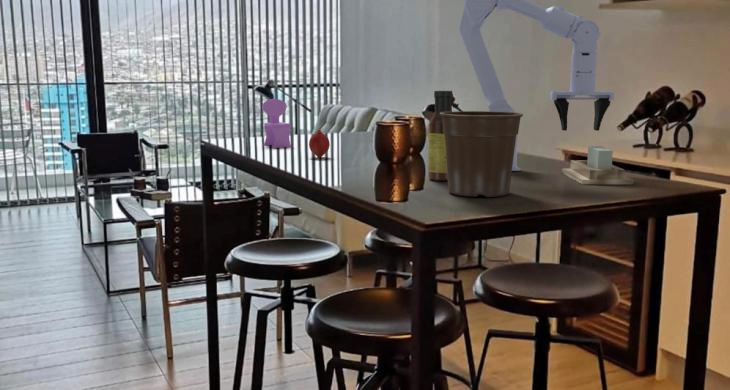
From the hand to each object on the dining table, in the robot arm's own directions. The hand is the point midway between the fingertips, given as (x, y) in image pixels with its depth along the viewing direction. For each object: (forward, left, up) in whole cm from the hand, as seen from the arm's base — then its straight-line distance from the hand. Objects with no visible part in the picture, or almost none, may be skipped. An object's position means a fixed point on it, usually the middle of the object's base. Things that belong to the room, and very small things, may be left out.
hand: (580, 130), depth 170 cm
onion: (-65, +26, -10) cm, 71 cm away
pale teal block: (+1, -13, -9) cm, 16 cm away
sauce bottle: (-34, -13, -10) cm, 38 cm away
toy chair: (-81, +55, -10) cm, 98 cm away
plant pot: (-28, -30, -10) cm, 42 cm away
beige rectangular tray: (+1, -11, -10) cm, 15 cm away
